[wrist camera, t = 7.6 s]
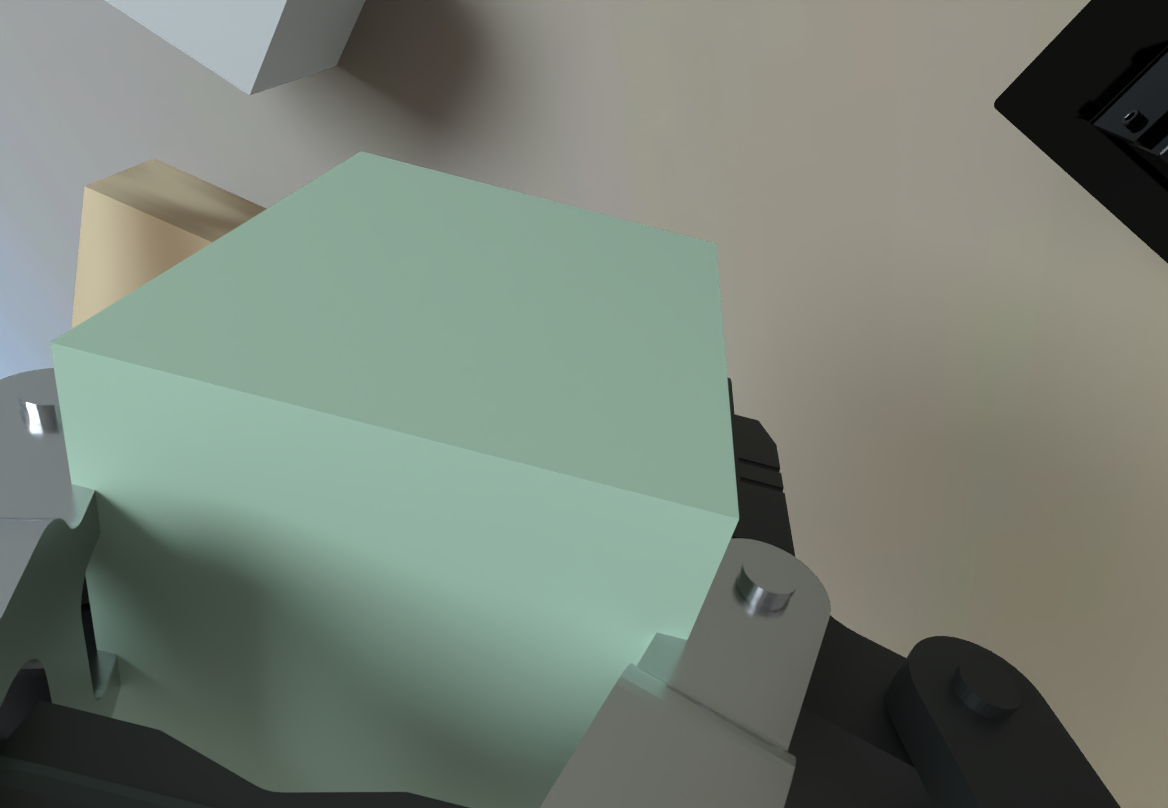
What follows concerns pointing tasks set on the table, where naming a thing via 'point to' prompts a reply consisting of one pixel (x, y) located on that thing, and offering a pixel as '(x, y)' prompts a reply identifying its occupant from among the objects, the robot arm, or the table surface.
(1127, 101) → the black piece
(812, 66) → the table surface
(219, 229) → the maple base
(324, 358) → the green block
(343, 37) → the grey block
